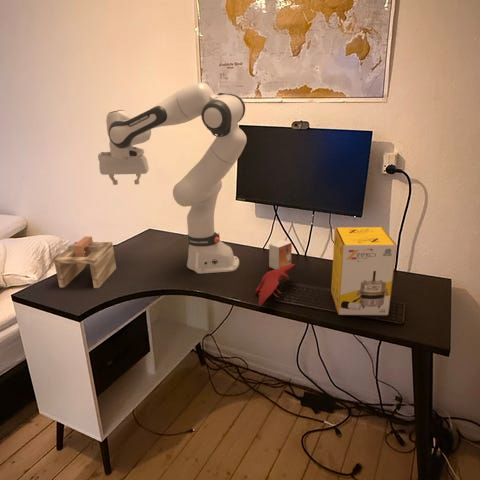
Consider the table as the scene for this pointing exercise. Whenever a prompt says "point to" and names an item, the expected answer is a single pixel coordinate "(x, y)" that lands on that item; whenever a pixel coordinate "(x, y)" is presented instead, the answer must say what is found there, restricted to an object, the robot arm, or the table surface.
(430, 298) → the table surface
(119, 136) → the robot arm
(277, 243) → the small box
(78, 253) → the arch block
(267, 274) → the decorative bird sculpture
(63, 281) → the wooden stand
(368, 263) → the packaging box
